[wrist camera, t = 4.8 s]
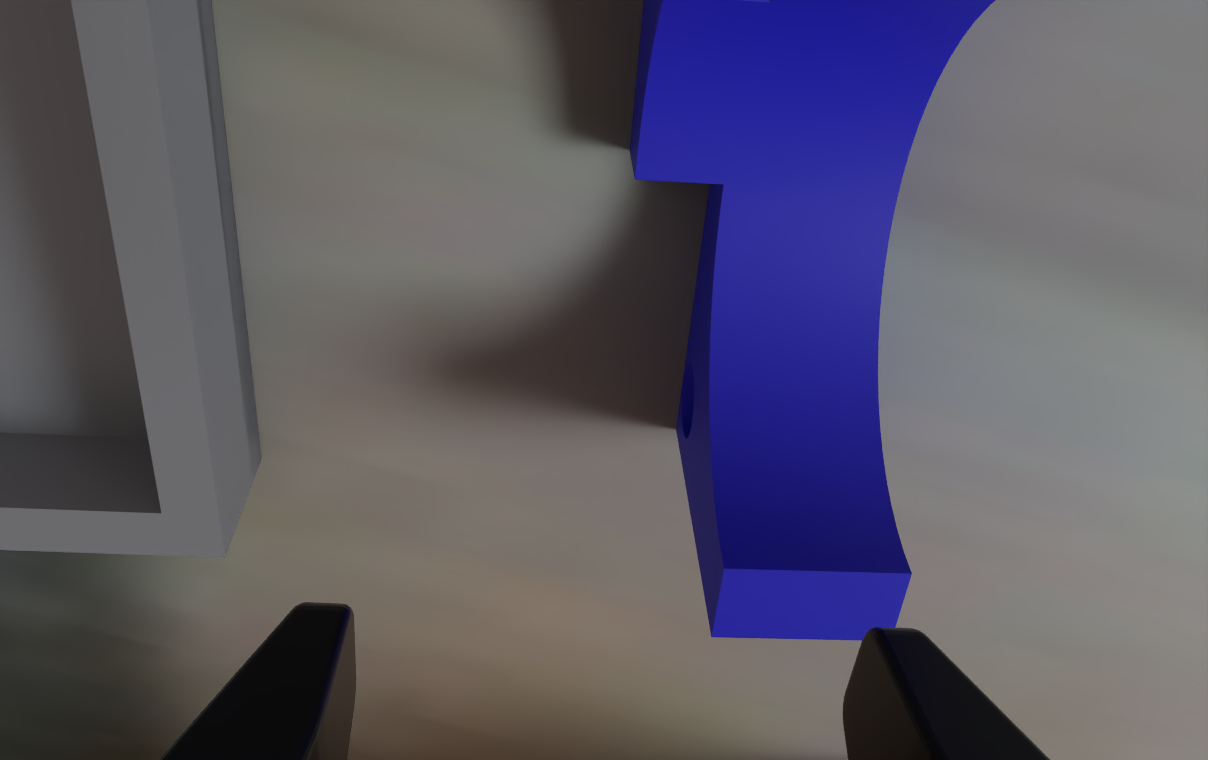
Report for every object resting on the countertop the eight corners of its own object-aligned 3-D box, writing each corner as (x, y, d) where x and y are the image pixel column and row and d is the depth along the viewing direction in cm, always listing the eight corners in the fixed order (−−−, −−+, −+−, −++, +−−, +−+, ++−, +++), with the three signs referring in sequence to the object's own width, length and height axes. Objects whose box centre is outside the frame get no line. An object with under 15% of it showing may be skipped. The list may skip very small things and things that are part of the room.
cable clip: (664, -239, 16) (718, -198, 11) (959, -214, 17) (1138, -164, 12) (603, 421, 23) (620, 635, 18) (816, 429, 23) (891, 640, 18)
